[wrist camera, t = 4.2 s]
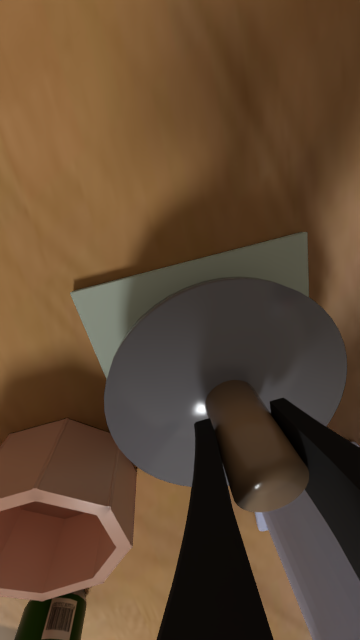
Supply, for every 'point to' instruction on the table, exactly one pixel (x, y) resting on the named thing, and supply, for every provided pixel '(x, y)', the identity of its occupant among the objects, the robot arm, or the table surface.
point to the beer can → (54, 618)
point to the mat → (151, 287)
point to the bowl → (62, 509)
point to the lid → (225, 384)
